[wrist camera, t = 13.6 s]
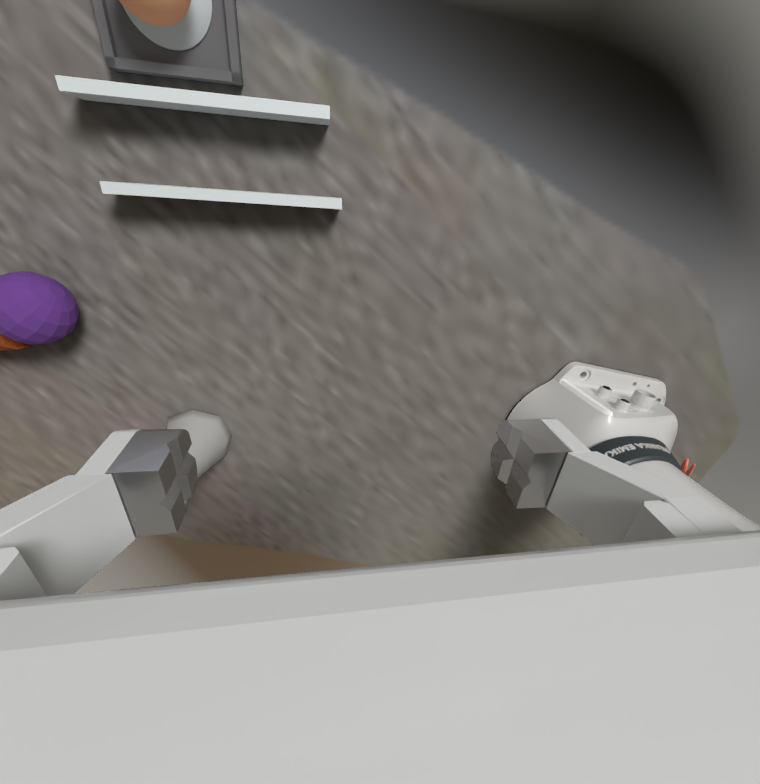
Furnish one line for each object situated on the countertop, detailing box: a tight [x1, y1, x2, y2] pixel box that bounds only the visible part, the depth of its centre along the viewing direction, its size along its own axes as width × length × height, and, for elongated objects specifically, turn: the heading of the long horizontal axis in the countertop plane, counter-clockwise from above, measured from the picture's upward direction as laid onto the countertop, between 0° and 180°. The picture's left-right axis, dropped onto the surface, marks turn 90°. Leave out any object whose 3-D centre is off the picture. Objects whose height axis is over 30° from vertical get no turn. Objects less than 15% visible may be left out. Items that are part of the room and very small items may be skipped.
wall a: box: [99, 181, 342, 209], centre depth 30 cm, size 18×1×3 cm, turn 86°
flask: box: [166, 410, 231, 506], centre depth 38 cm, size 7×7×10 cm
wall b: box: [55, 75, 330, 125], centre depth 27 cm, size 18×1×3 cm, turn 86°
